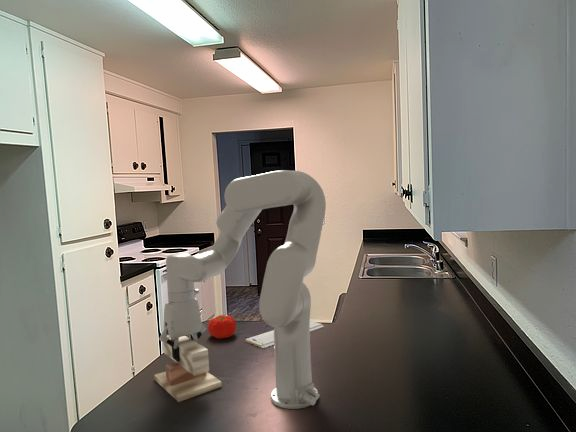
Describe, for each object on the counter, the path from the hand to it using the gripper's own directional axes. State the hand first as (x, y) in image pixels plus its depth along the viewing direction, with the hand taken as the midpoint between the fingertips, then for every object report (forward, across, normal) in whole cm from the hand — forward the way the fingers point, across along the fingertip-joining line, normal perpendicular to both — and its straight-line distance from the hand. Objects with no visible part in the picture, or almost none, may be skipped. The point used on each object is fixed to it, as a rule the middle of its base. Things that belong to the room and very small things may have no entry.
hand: (185, 357), depth 124 cm
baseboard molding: (+9, -46, -12) cm, 49 cm away
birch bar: (+1, 0, 0) cm, 1 cm away
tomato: (+8, -27, -28) cm, 40 cm away
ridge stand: (+8, 0, 0) cm, 8 cm away
